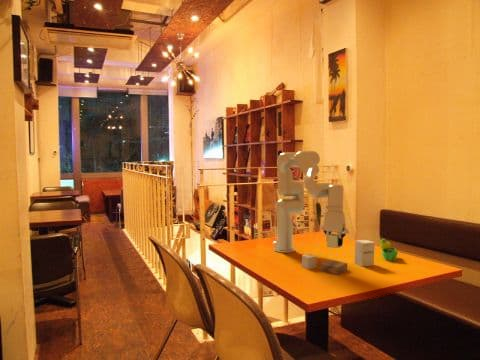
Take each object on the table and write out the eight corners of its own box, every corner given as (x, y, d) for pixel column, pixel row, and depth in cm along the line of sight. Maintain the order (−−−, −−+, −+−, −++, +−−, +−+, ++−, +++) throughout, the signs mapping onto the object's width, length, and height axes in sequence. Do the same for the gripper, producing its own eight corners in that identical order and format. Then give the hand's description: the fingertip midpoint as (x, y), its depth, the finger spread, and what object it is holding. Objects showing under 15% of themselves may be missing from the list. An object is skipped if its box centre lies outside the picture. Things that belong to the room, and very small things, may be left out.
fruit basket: (398, 261, 208) (398, 241, 208) (381, 260, 210) (381, 240, 209) (394, 256, 220) (394, 237, 219) (378, 255, 221) (378, 236, 221)
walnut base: (320, 271, 191) (320, 263, 191) (329, 266, 199) (329, 259, 199) (338, 275, 185) (338, 267, 185) (347, 270, 192) (347, 263, 192)
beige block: (326, 246, 191) (327, 234, 190) (332, 244, 195) (332, 233, 194) (336, 248, 187) (336, 236, 187) (342, 246, 191) (342, 234, 191)
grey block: (301, 266, 199) (302, 255, 198) (310, 265, 201) (310, 254, 201) (308, 269, 194) (308, 257, 193) (316, 268, 196) (317, 256, 196)
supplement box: (362, 267, 198) (362, 243, 197) (354, 263, 205) (354, 240, 204) (374, 265, 200) (375, 242, 199) (366, 262, 207) (366, 239, 206)
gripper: (316, 208, 193) (315, 243, 194) (347, 211, 181) (346, 249, 182) (324, 206, 198) (323, 241, 199) (354, 210, 186) (353, 246, 187)
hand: (334, 244), depth 191 cm, fingers closed on beige block, 5 cm apart
